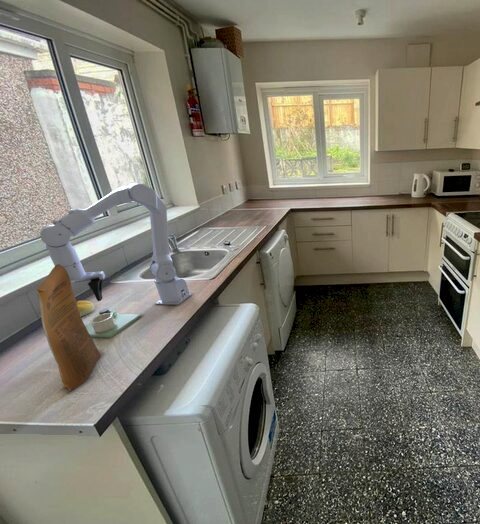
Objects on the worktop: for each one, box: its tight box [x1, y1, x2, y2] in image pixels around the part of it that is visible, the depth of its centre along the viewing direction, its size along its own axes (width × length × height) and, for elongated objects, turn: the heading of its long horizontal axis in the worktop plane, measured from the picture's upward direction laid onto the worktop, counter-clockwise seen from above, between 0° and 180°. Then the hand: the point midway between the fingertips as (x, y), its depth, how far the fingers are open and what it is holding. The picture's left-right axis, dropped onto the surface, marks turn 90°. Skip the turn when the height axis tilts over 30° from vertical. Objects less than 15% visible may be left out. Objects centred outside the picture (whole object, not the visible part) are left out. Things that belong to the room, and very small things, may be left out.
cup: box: [89, 313, 116, 333], centre depth 93 cm, size 6×6×4 cm
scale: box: [84, 308, 142, 338], centre depth 96 cm, size 14×12×2 cm
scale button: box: [98, 308, 110, 315], centre depth 99 cm, size 3×3×2 cm
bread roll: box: [76, 300, 95, 318], centre depth 105 cm, size 8×9×4 cm
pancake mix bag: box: [35, 264, 102, 392], centre depth 72 cm, size 7×19×28 cm, turn 25°
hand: (85, 302), depth 93 cm, fingers open, 7 cm apart
